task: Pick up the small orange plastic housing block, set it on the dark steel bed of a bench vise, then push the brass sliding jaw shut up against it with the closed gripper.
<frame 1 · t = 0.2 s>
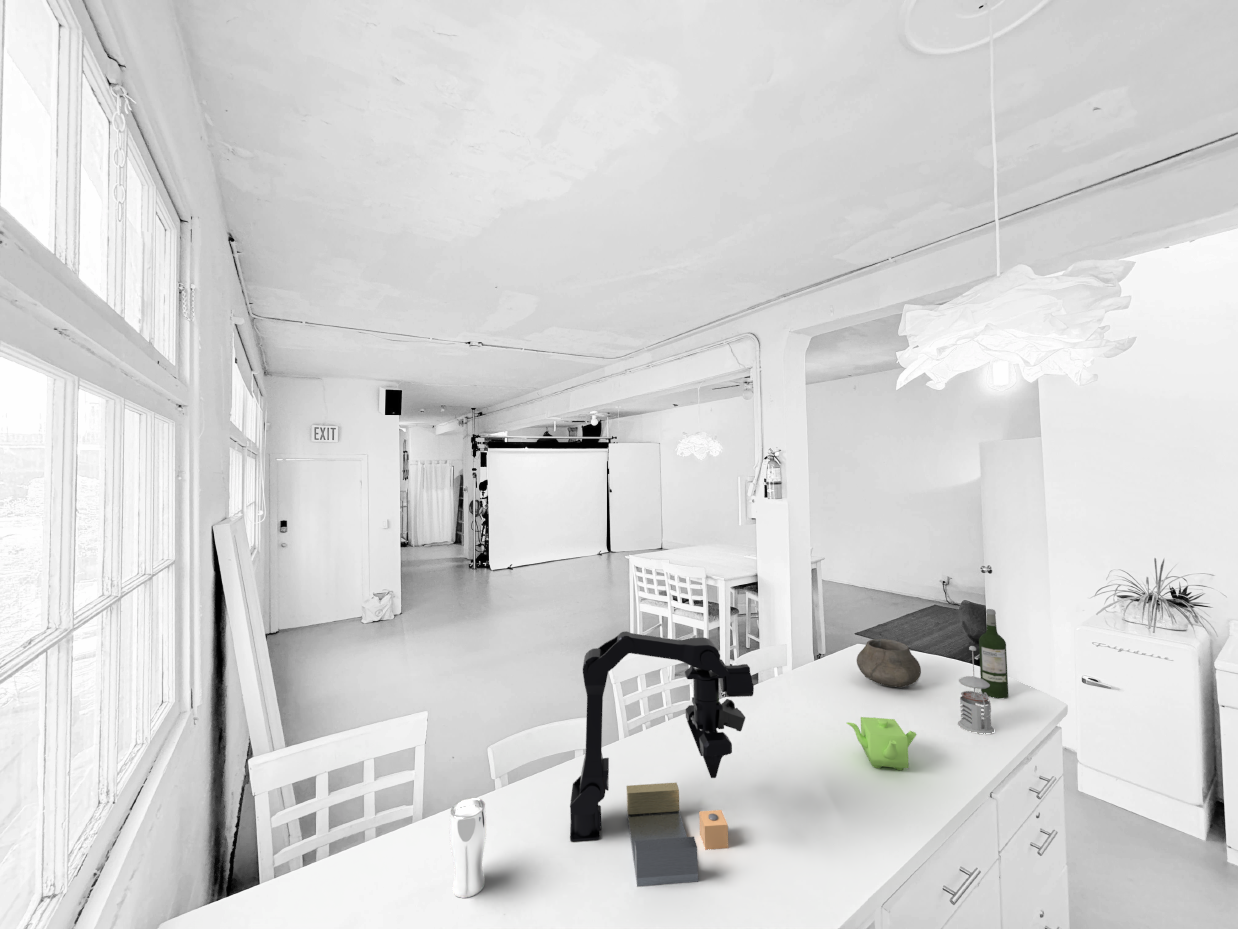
hand: (707, 766, 117), 13 cm above the counter, fingers open, 9 cm apart
kettle: (882, 763, 142), on the counter
wine bottle: (994, 695, 185), on the counter
clay pot: (888, 684, 197), on the counter
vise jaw: (652, 798, 121), point 4 cm above the counter, slide at 0.0 cm
beer glass: (468, 887, 101), on the counter
vise bed: (659, 844, 112), on the counter
french press: (977, 729, 160), on the counter
housing block: (713, 841, 112), on the counter
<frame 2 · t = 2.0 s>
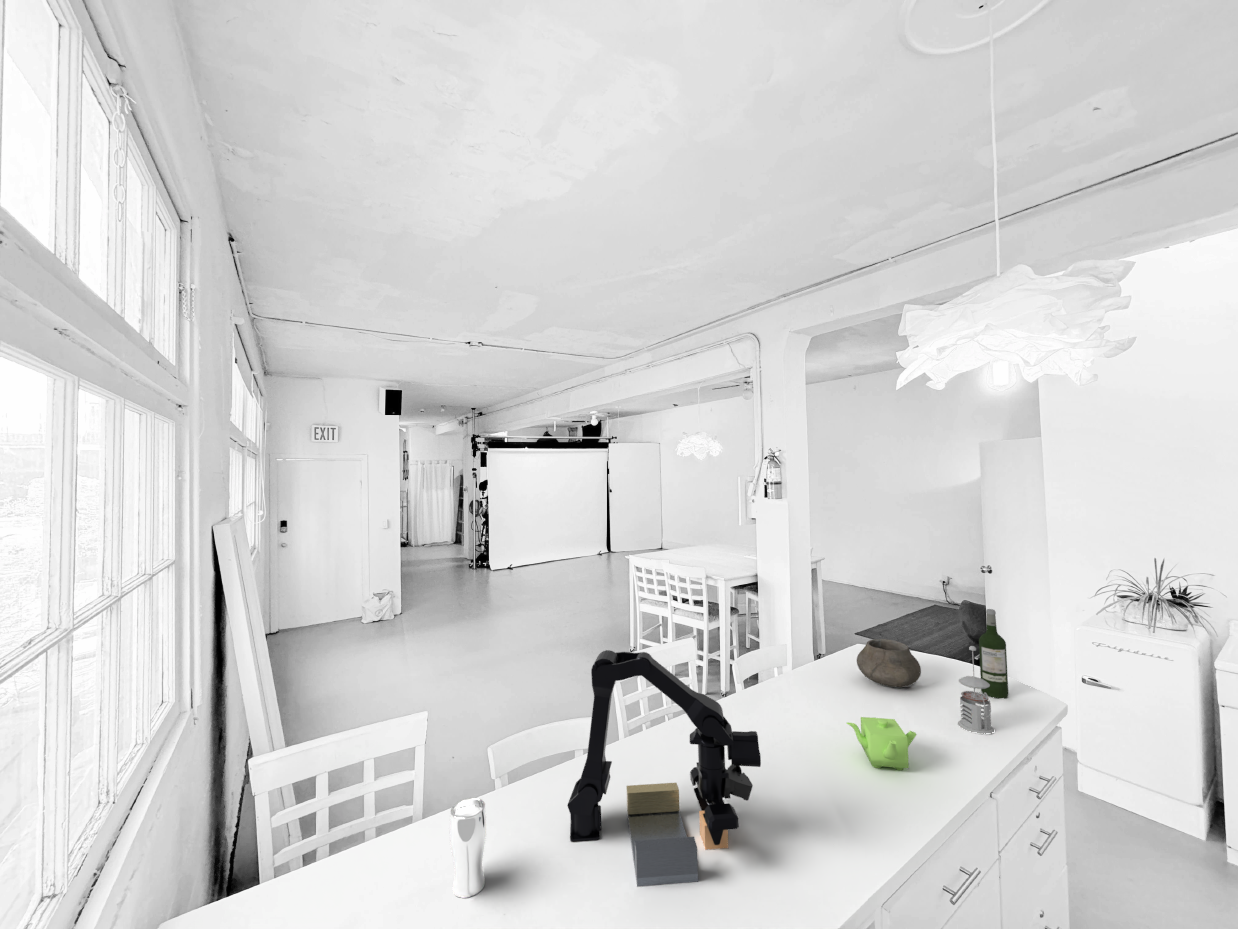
hand: (713, 836, 112), 1 cm above the counter, fingers closed on housing block, 5 cm apart
housing block: (713, 840, 112), on the counter, touching gripper
everything else where it was.
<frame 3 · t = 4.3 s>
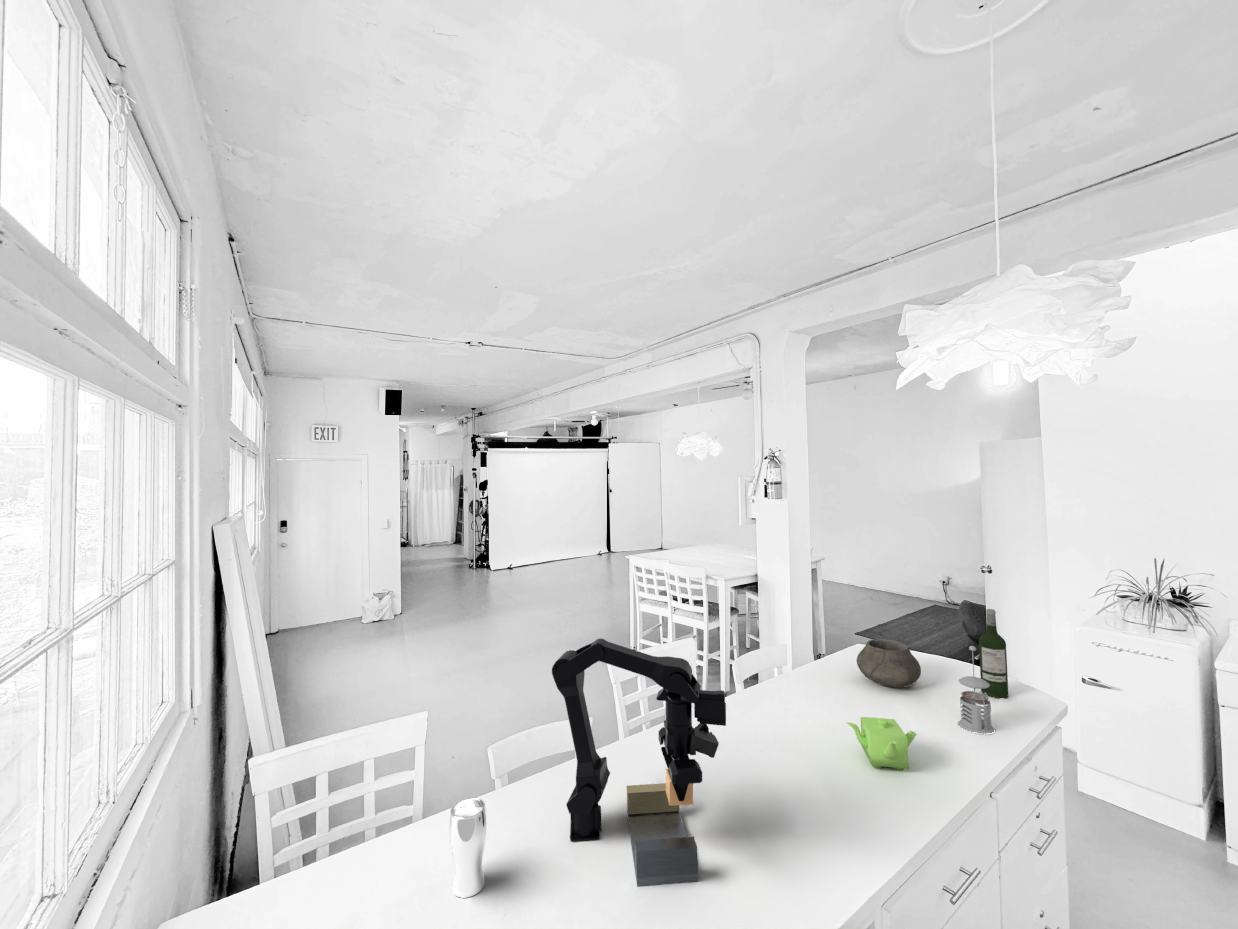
hand: (678, 793, 112), 11 cm above the counter, fingers closed on housing block, 5 cm apart
housing block: (679, 798, 112), point 10 cm above the counter, touching gripper
everything else where it was.
when the fingers open (3 cm above the counter, at t = 6.5 s): housing block stays where it is, resting on vise bed.
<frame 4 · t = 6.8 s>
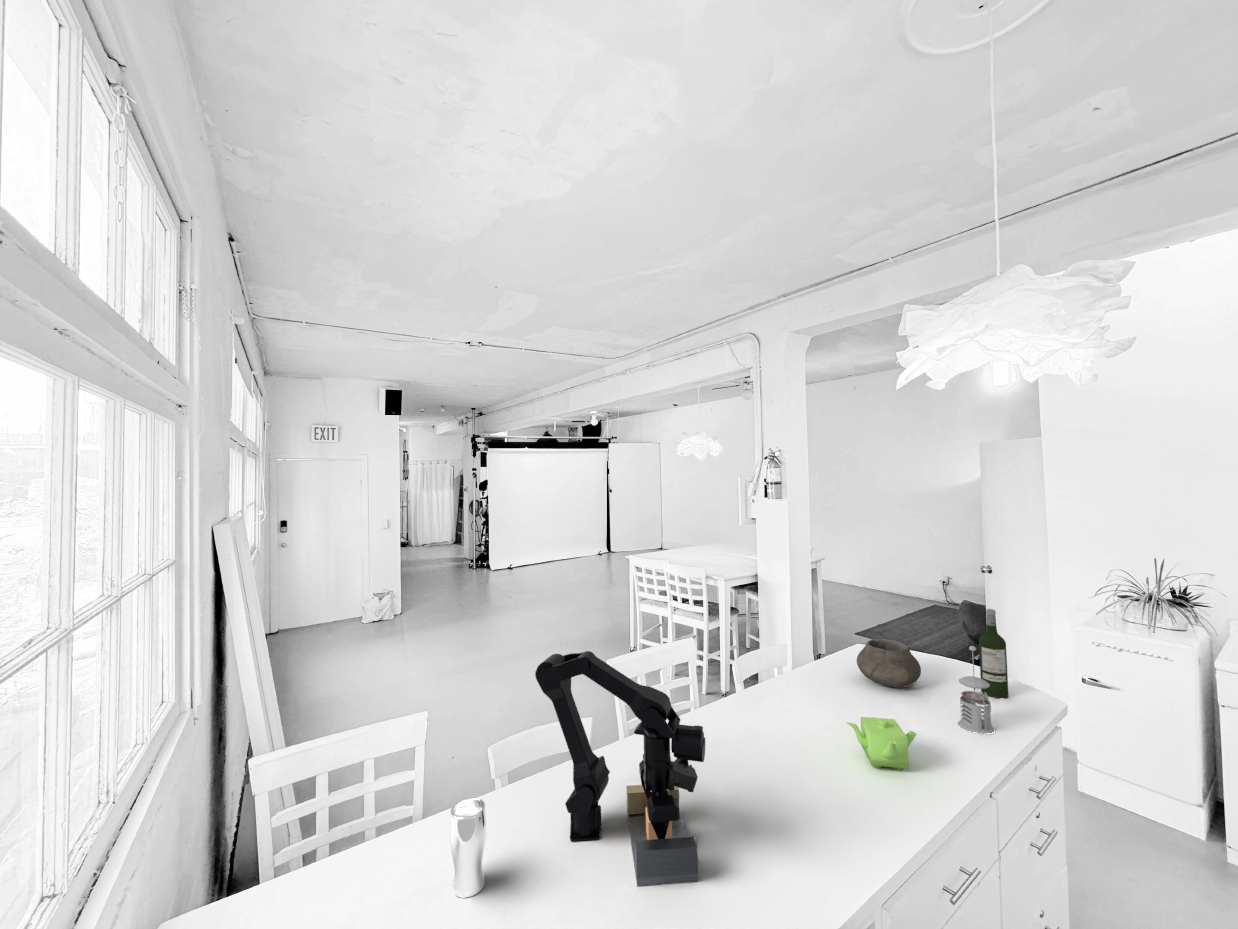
hand: (658, 828, 112), 3 cm above the counter, fingers open, 8 cm apart
housing block: (658, 837, 112), point 1 cm above the counter, touching vise bed
everything else where it was.
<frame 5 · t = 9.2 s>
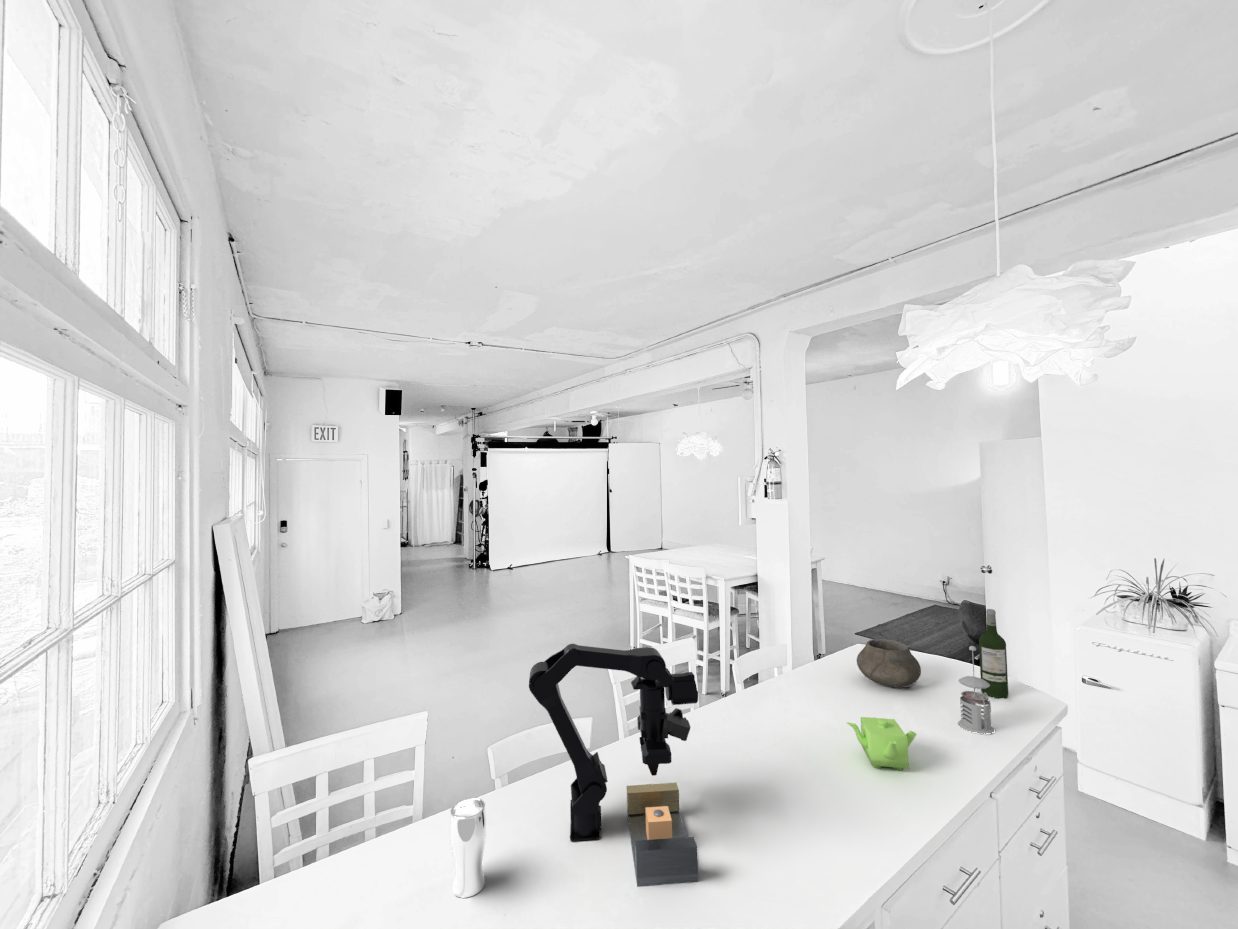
hand: (653, 774, 119), 11 cm above the counter, fingers closed
nothing on the counter moved.
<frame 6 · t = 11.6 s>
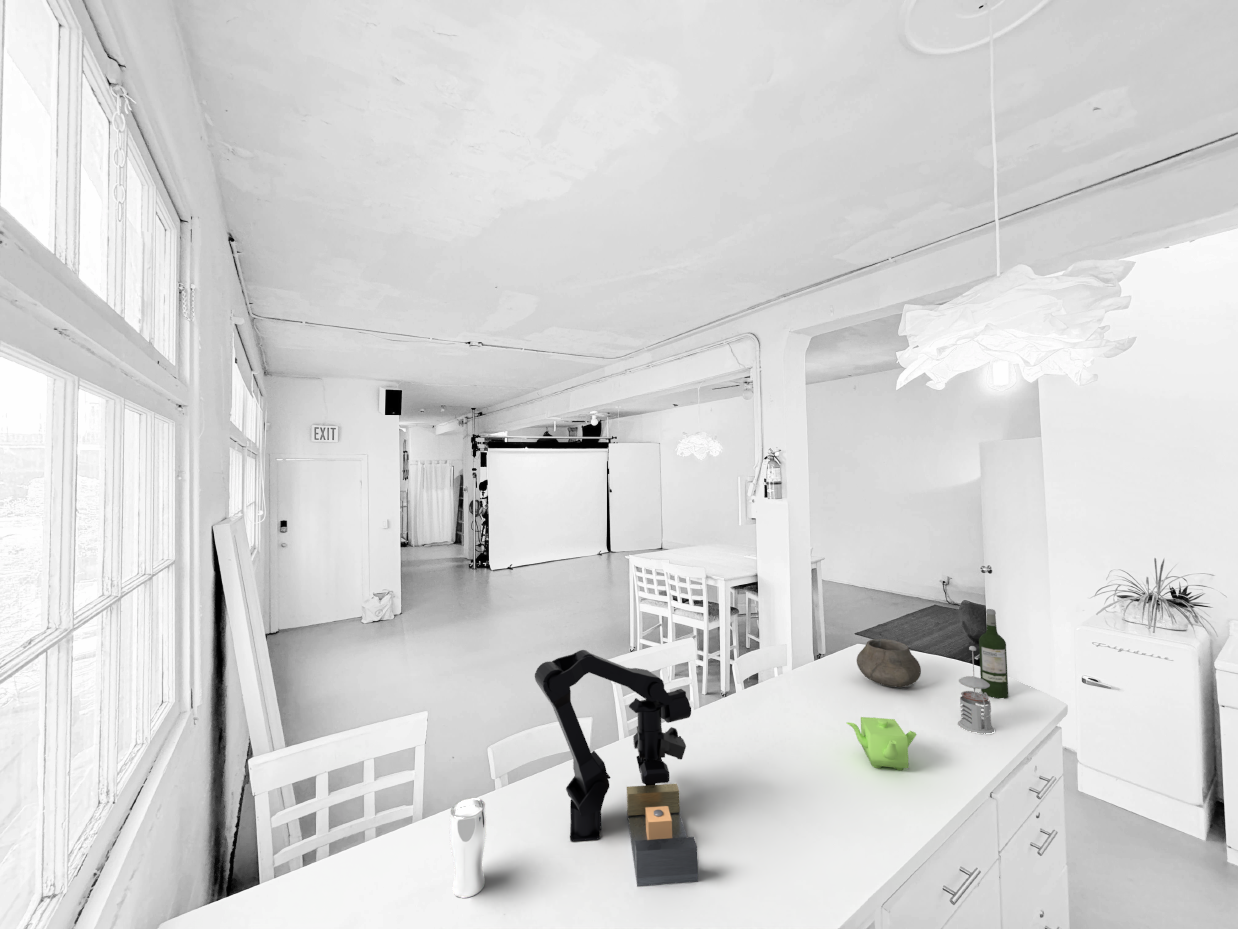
hand: (650, 792, 124), 4 cm above the counter, fingers closed
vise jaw: (652, 799, 121), point 4 cm above the counter, slide at 0.4 cm, touching gripper
everything else where it was.
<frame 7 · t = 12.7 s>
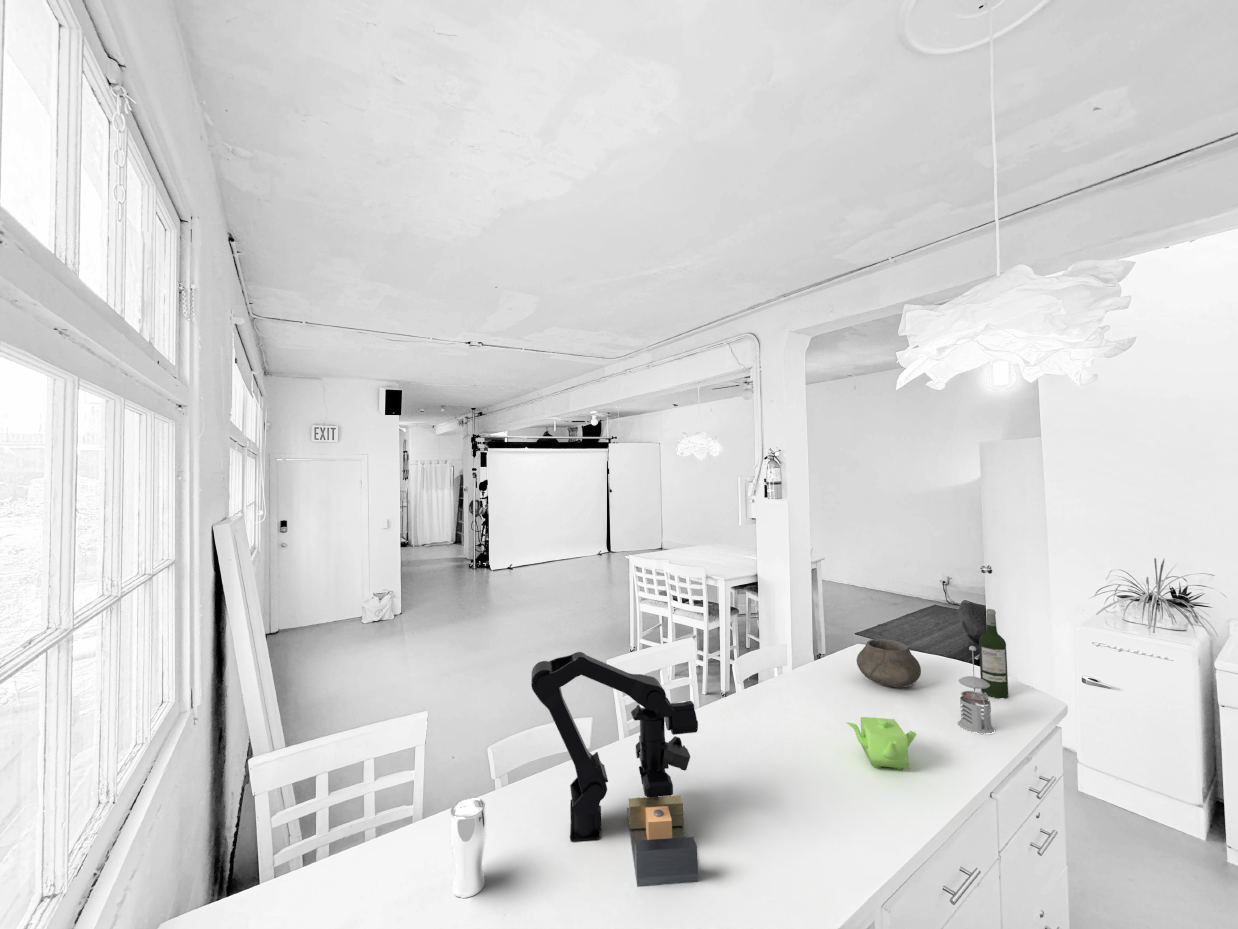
hand: (653, 804, 119), 4 cm above the counter, fingers closed
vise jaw: (655, 811, 116), point 4 cm above the counter, slide at 5.0 cm, touching gripper
everything else where it was.
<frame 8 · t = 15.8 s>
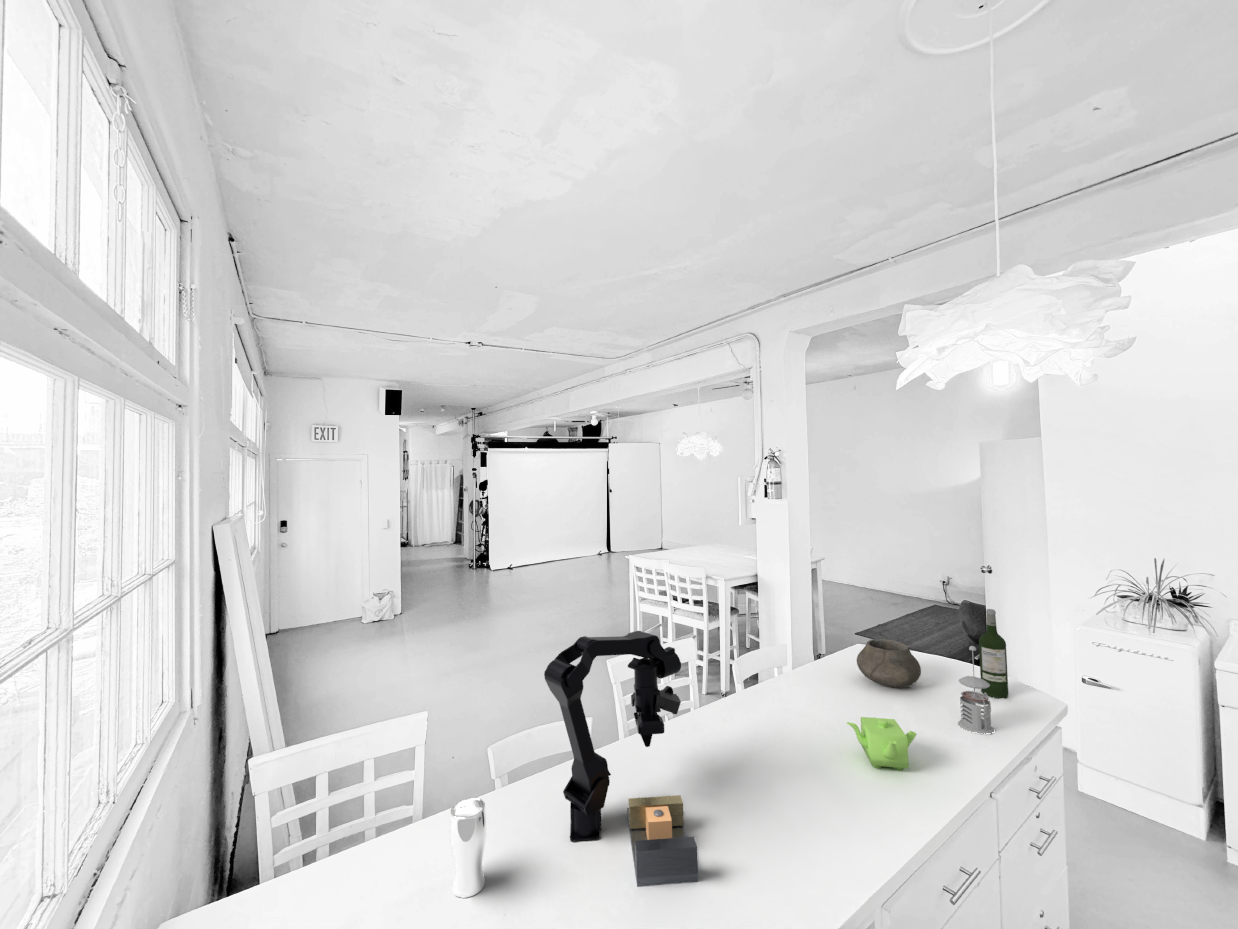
hand: (647, 746, 130), 12 cm above the counter, fingers closed
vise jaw: (655, 811, 116), point 4 cm above the counter, slide at 5.0 cm
everything else where it was.
at the end: housing block 0.0 cm off-centre on the vise bed, point 1.5 cm above the vise bed's base; housing block tilted 0°; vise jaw slide at 5.0 cm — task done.
